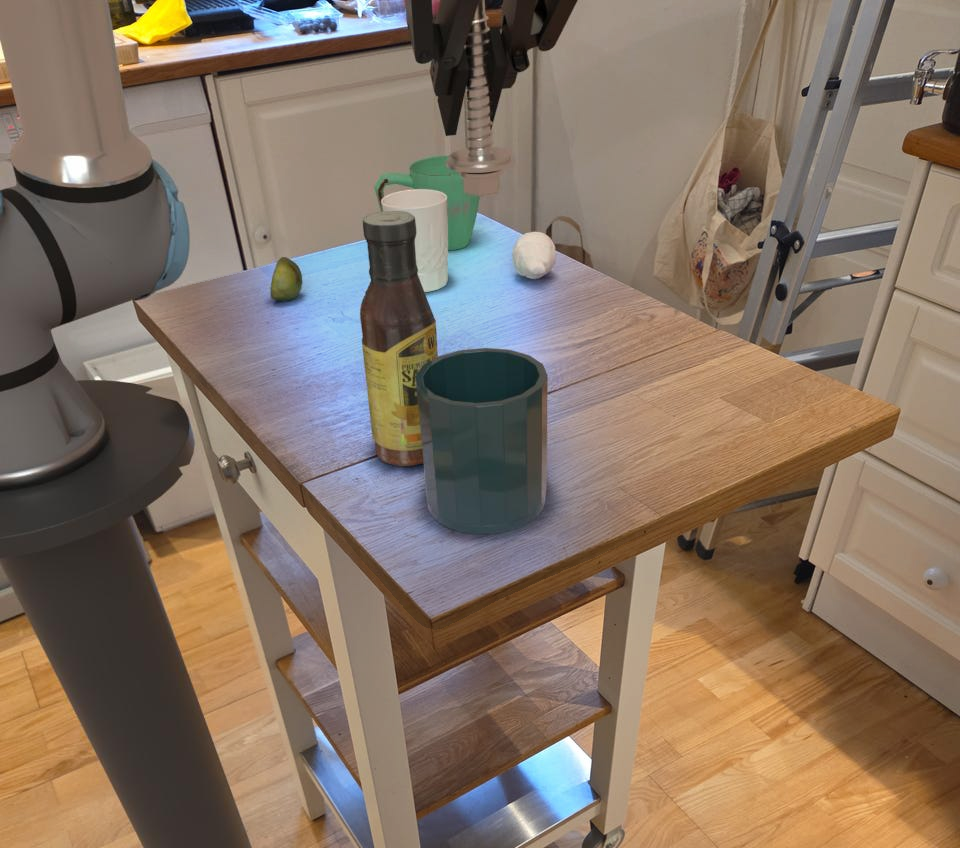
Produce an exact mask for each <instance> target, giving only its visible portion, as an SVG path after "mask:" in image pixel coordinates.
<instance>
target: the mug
mask: <svg viewBox="0 0 960 848" xmlns="http://www.w3.org/2000/svg"><path fill="white" fill-rule="evenodd" d="M450 155H451V154H450ZM450 155H448V154H447V155H437V156H430V157H426V158H422V159H419V160H415V161H413V162H412V163H411V164H410V165H409V168H408V170H409V174H406V173H401V172H400V173H399V172H385V173H382V174H381V175H380V176H379V179H378V180H377V181H376V182H375V184H374V186H373V188H374V191H375V195H376V199H377V202H378V207H379V210H380V212H383V211H382V204H381V200H382V198H383V197H385V194H384V193H385V192H384V190H385V187H386V186H391V185H399V186H403V187H407V188H412V189H429V190H436V191H440V192H443V193H445V194H446V195H447V212H448V251H456V250H460V249H464V248H466V247H468V246H469V244H470V241H471V237H472V235H473V232H474V228H475V223H476V220H477V216H478V211H479V206H480V197H481V196H474V195H468V194H464V187H463V177H462V176H460V175H459V172H458V171H453V170H450V169H449V168H447V166H446V159H447V158H448V157H450Z"/></svg>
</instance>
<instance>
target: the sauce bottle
mask: <svg viewBox="0 0 960 848" xmlns="http://www.w3.org/2000/svg"><path fill="white" fill-rule="evenodd" d="M362 230H363V237H364V240H365V241H366V244H367V253H368V256H367V257H368V263H369V264H368V265H369V269H368V275H369V278H370V282H369V285H368V286H367V289H366V290H365V293H364V294H365V295H364V296H363V298H362V300H361V304H360V309H359V319H360V328H361V334H362V335H361V336H362V338H361V347H362V356H363V365H364V374H365V383H366V391H367V399H368V400H367V401H368V402H367V403H368V411H369V419H370V428H371V437H372V440H373V441H374V447H375V453H376V456H377V457H378V458H379V460H380V461H381V462H384V463H386V464H388V465H392V466H397V467H412V466H418V465H421V464H423V455H422V445H421V435H420V424H419V414H418V403H417V393H416V382H415V376H416V374H417V373H418V372H419V370H420V369H421V367H422V366H423V365H424V364H426V363H428V362H430V361H431V360H433V359H435V358H437V357H438V356H439V354H438V352H439V351H438V333H437V320H436V318H435V316H434V313H433V311H432V307H431V306H430V303H429V301H428V298H427V295H426V292H424V290H423V287H422V285H421V282H420V279H419V277H418V268H417V265H416V253H415V237H416V233H417V232H416V223H415V217H414V216H413V215H412V214H410V213H408V212H404V211H384V212H381V211H378V212H373V213H370V214H367V215H365V216H364V217H363V218H362Z"/></svg>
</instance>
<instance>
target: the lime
mask: <svg viewBox="0 0 960 848" xmlns="http://www.w3.org/2000/svg"><path fill="white" fill-rule="evenodd" d="M302 288H303V274H302V271H301V268H300V267H299V265H298V264H297V263H296V262H295V261H293V260H292V259H290V258H289V257H287V256H281V257H280V258H279V259H278V261H277V262H276V265H275V267H274V270H273V274H272V277H271V282H270V287H269V289H270V291H269V292H270V293H269V294H270V297H271V299H273V300H275V301H279V302H288V301H291V300H293V299H294V298H297V297H298V295H299V294H300V292H301V290H302Z"/></svg>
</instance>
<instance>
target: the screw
mask: <svg viewBox="0 0 960 848" xmlns="http://www.w3.org/2000/svg"><path fill="white" fill-rule="evenodd" d="M485 2H486V1H485V0H479V3H478V6H477V9H476V12H475V15H474V19H473V22H472V25H471V28H470V31H469V34H468V38H467V41H466V44H465V52H466V56H467V60H468V64H469V68H470V71H469V75H468V80H467V85H466V90H465V92H466V98H464V99H463V101H466V108H465V109H464V111H466V112H467V118H464V119H465V121H467V127H466V129H465V130H466V131H467V132H468V137H466V140H467V141H468V147H465V148H460V149H458V150H455V151H453V152H451V153H450V157H448V158H447V159H446V166H447V168H449V169H450V170H453V171H458V172H459V175H460V176H462V177H463V187H464V194H468V195H474V196H480V197H485V196H491V195H496V194H498V192H499V190H500V187H501V186H500V176H501V175H502V174H503V173H504V170H506V169H509V168H511V167H513V166H514V165H515V163H516V156H515V154H513V153H511V150H509V149H507V148H505V147H500V146H493V144H494V141H493V140H492V136H493V134H494V131H493V130H492V129H491V130H490V126H491V125H492V124H493V125H494V121H493V122H492V121H490V116H491V115H492V114H493V113H492V112H491V111H490V105H492V102H491V101H489V96H490V95H491V94H492V92H491V91H489V85H490V84H491V83H492V82H491V81H489V75H490V74H491V71H490V70H488V64H490V63H491V61H490V60H489V59H488V53H490V52H491V50H490V49H488V42H489V41H490V39H489V38H487V32H488V31H489V30H490V28H489V27H490V26H488V23H487V21H488V20H489V18H490V17H489V16H488V15H487V14H486V3H485ZM493 125H492V126H493Z"/></svg>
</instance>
